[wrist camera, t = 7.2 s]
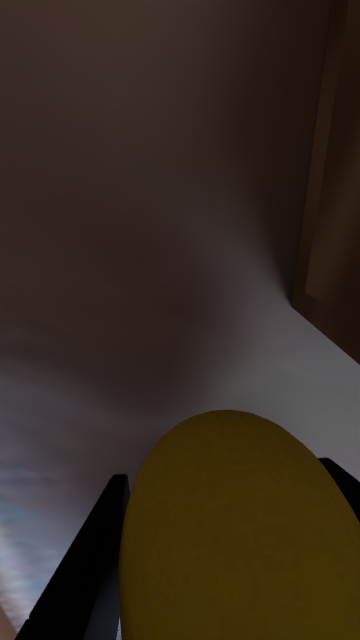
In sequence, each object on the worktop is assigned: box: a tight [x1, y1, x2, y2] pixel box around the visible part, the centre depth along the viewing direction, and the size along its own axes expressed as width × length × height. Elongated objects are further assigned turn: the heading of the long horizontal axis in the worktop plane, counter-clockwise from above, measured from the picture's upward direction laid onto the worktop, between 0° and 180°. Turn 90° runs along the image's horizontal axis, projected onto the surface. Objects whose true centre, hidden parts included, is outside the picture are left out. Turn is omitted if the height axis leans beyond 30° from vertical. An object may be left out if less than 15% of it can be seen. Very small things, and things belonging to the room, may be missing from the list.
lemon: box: [119, 410, 360, 640], centre depth 7 cm, size 6×6×8 cm
